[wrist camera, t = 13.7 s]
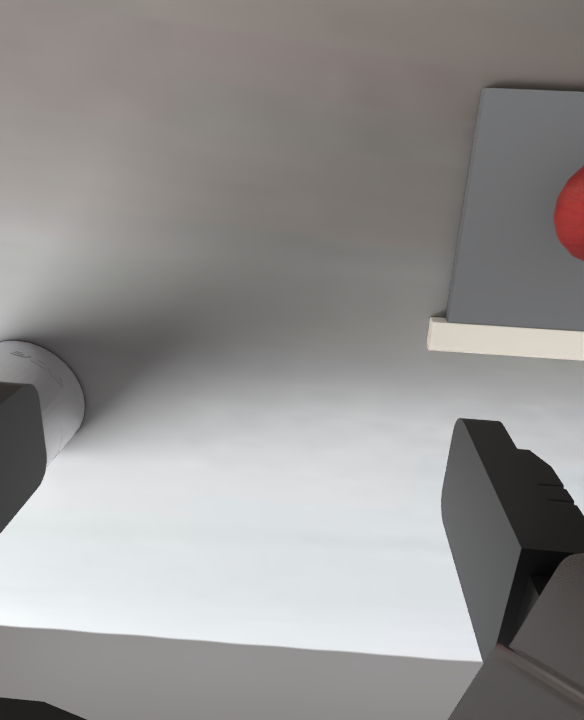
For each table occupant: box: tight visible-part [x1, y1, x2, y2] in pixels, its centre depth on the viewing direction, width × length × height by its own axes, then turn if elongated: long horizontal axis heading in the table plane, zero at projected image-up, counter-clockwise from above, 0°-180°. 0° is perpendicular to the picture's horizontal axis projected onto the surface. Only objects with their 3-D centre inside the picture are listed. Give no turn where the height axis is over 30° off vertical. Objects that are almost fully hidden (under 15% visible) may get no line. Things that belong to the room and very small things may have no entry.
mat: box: [426, 88, 584, 361], centre depth 35 cm, size 16×16×1 cm
